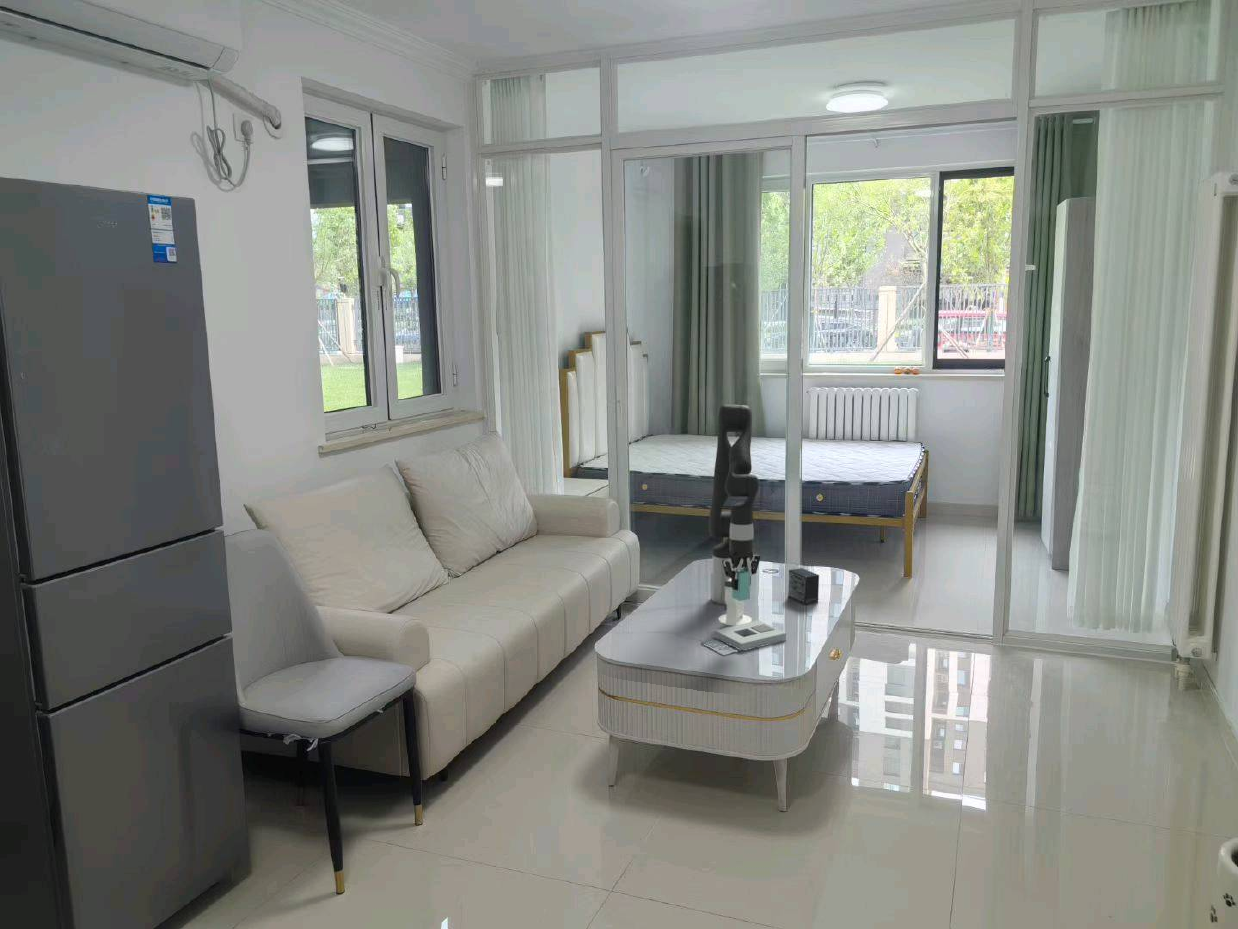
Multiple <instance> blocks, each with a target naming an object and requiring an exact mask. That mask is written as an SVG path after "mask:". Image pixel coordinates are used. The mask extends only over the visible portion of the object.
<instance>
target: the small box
mask: <svg viewBox="0 0 1238 929" xmlns="http://www.w3.org/2000/svg"><path fill="white" fill-rule="evenodd" d="M819 585H820V575H819V574H817V573H815V572H813V571H810V570H807V569H805V568H802V567H801V568H794V569H793V568H792V569H789V570H788V592H787V594H788V595H787V597H788V598H790V599H792V600H794V601H796V602H798V603H801V604H802V605H805V606H806V605H810V604H817V603H819V590H820V589H819V587H820V586H819Z"/></svg>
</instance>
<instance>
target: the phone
mask: <svg viewBox="0 0 1238 929" xmlns="http://www.w3.org/2000/svg"><path fill="white" fill-rule="evenodd" d="M701 643H702V644H706V645H707V644H713V645H711V646H710V647H712V648H716V647H718V646H724V645H726V643H724V642H722V641H720V640H719V639H717V638H715V639H710V640H705V641H702V642H700V644H701ZM702 644H701V645H702ZM714 644H717V645H715V646H714ZM708 646H709V645H708ZM729 648H730V645H729V646H728V647H727V646H725V647H724V648H723V649H722V647H721V648H719V649H718V650H730V649H729ZM735 649H736V648H734V650H735ZM732 650H733V649H732Z"/></svg>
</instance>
